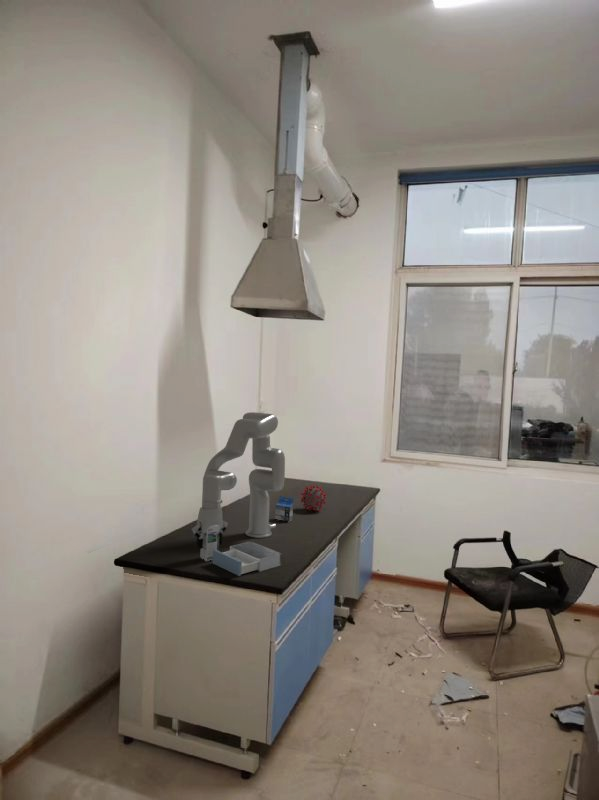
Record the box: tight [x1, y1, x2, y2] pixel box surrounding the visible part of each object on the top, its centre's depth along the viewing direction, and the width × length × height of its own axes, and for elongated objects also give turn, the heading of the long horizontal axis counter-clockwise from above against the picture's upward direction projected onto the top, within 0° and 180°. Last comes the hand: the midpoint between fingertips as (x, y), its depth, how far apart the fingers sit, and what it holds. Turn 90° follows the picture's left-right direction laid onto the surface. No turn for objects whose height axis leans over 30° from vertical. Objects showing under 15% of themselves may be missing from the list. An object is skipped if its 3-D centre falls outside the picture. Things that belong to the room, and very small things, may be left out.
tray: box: [212, 549, 259, 577], centre depth 202 cm, size 11×17×5 cm, turn 45°
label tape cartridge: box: [274, 495, 294, 523], centre depth 273 cm, size 9×4×12 cm, turn 62°
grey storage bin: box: [229, 540, 282, 573], centre depth 209 cm, size 11×19×5 cm, turn 45°
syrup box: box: [199, 524, 220, 562], centre depth 210 cm, size 6×6×14 cm
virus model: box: [300, 484, 327, 512], centre depth 297 cm, size 14×15×15 cm
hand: (209, 545), depth 210 cm, fingers open, 9 cm apart
